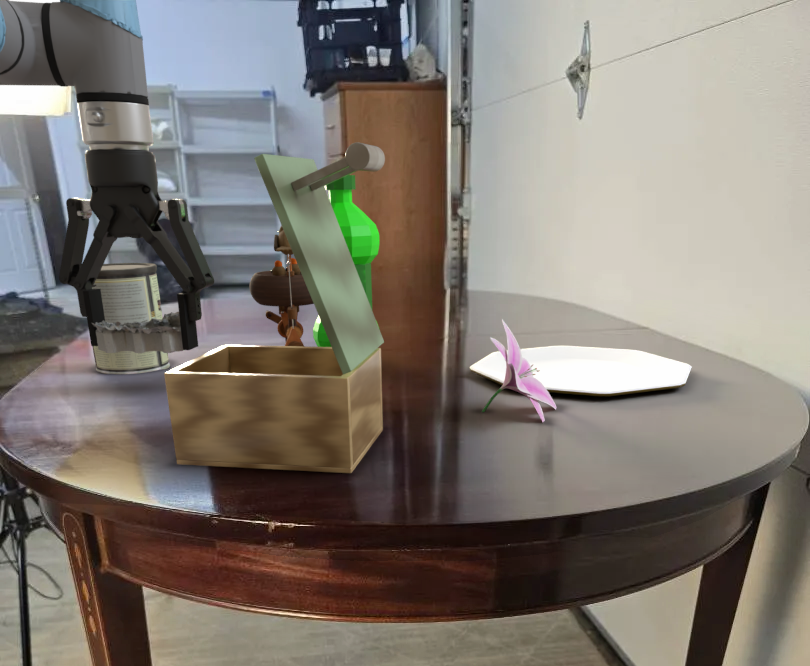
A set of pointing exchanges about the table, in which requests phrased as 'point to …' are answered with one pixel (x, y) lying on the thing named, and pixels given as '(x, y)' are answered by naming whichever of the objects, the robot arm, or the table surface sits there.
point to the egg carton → (141, 335)
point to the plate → (592, 370)
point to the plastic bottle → (351, 240)
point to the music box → (283, 292)
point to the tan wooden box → (274, 408)
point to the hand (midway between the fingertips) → (144, 346)
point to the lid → (325, 246)
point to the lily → (521, 375)
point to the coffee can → (129, 314)
